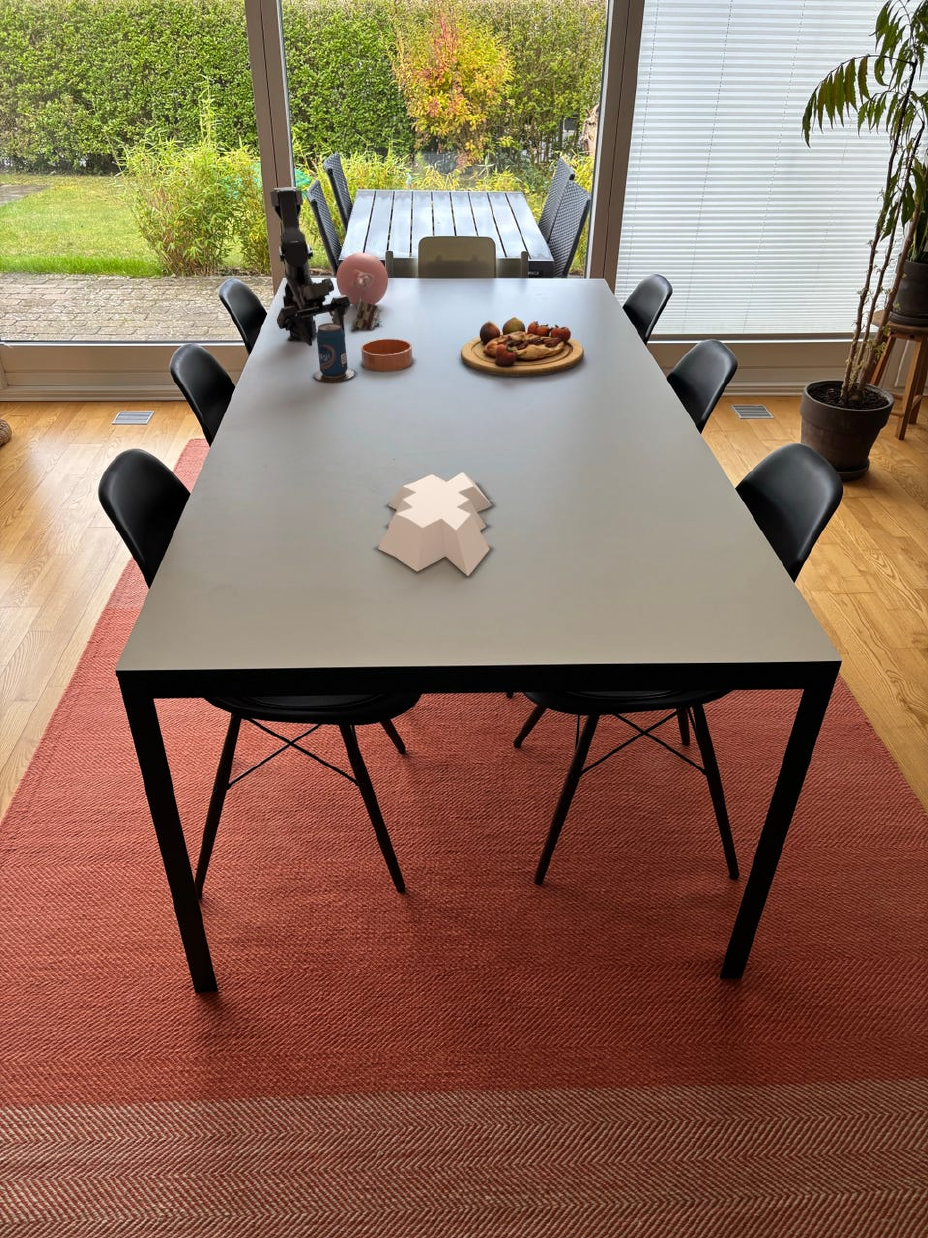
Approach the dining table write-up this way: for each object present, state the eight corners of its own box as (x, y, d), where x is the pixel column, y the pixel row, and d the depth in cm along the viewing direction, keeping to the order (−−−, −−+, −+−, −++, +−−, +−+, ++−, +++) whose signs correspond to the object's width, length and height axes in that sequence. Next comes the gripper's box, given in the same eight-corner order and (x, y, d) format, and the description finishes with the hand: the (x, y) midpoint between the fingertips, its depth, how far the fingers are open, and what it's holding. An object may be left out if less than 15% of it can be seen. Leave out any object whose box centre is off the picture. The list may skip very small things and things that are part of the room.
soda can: (315, 376, 246) (309, 328, 240) (330, 367, 251) (326, 320, 245) (337, 380, 244) (333, 332, 237) (353, 371, 249) (349, 324, 242)
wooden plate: (538, 388, 237) (539, 354, 233) (435, 363, 254) (434, 331, 249) (606, 351, 258) (608, 320, 254) (507, 331, 275) (507, 301, 270)
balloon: (334, 318, 288) (329, 264, 279) (341, 299, 305) (337, 247, 296) (386, 317, 288) (383, 263, 279) (391, 298, 304) (388, 246, 296)
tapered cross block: (393, 484, 195) (391, 458, 192) (493, 484, 194) (493, 458, 191) (371, 575, 166) (368, 547, 163) (488, 576, 165) (488, 547, 162)
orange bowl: (355, 369, 251) (354, 353, 249) (372, 352, 262) (371, 337, 259) (403, 372, 248) (402, 356, 246) (418, 356, 259) (417, 340, 256)
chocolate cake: (376, 333, 276) (385, 295, 279) (351, 326, 275) (361, 288, 278) (373, 348, 286) (382, 310, 288) (349, 341, 285) (359, 304, 287)
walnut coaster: (308, 381, 245) (308, 379, 244) (323, 367, 253) (323, 366, 252) (345, 384, 242) (345, 382, 242) (360, 370, 250) (359, 368, 250)
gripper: (275, 274, 234) (302, 331, 233) (344, 261, 243) (370, 316, 242) (265, 300, 244) (291, 355, 243) (332, 287, 253) (356, 340, 251)
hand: (327, 341), depth 244 cm, fingers open, 9 cm apart
